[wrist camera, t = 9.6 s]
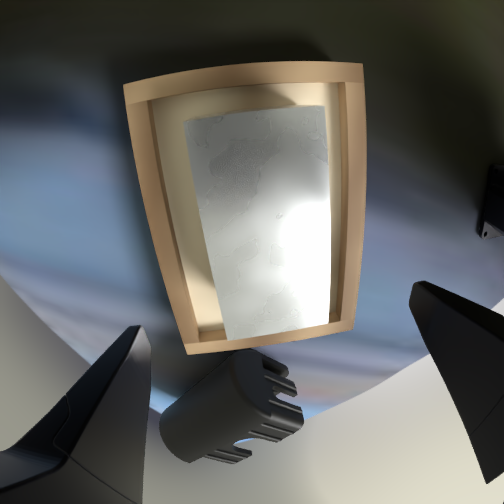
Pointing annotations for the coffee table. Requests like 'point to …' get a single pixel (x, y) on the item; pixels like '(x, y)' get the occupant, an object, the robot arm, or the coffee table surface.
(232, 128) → the block
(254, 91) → the beech stand
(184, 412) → the end cap
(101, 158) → the coffee table surface
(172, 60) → the coffee table surface
